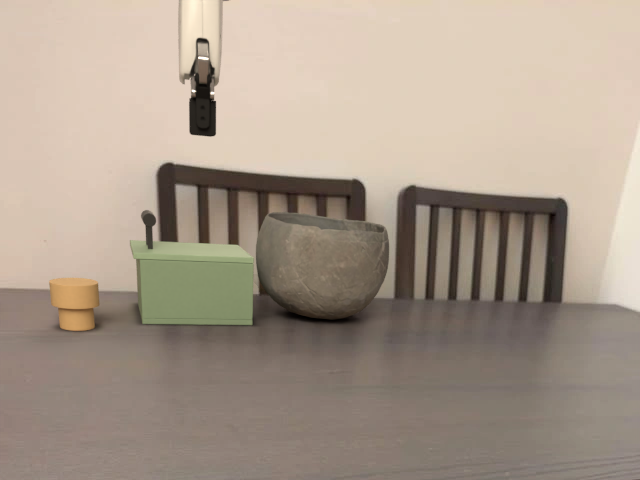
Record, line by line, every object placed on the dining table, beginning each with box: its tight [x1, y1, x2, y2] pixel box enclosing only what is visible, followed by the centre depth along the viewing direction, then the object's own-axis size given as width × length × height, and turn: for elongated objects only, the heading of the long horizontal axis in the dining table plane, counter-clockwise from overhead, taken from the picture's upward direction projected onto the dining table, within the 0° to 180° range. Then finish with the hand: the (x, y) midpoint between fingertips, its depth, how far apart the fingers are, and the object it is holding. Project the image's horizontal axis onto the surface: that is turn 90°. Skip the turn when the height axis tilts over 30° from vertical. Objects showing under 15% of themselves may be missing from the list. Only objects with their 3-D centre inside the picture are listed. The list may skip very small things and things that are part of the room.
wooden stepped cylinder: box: [48, 277, 101, 332], centre depth 97 cm, size 6×6×6 cm
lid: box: [129, 209, 255, 264], centre depth 106 cm, size 16×14×6 cm
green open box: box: [135, 259, 255, 326], centre depth 109 cm, size 16×14×9 cm
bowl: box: [255, 211, 390, 320], centre depth 114 cm, size 20×20×15 cm
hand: (202, 135), depth 96 cm, fingers open, 9 cm apart
